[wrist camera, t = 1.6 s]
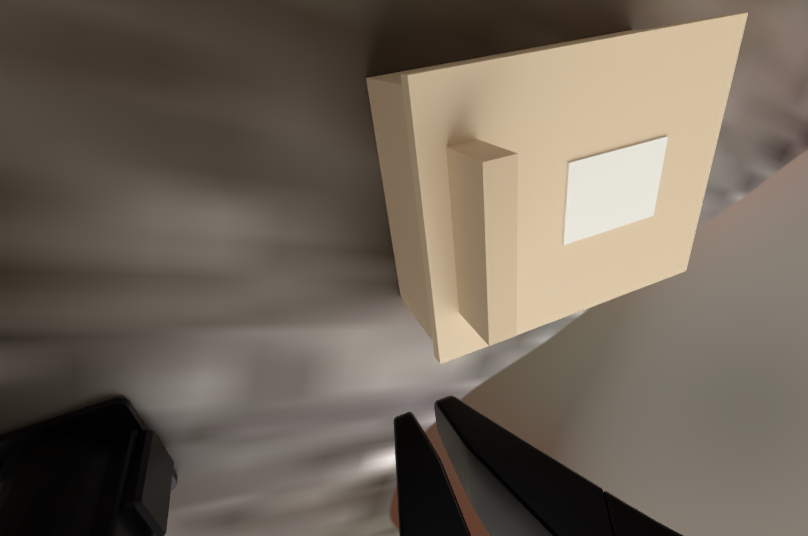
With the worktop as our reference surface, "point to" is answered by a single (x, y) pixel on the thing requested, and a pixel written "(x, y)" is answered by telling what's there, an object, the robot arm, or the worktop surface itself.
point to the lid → (562, 174)
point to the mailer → (407, 181)
